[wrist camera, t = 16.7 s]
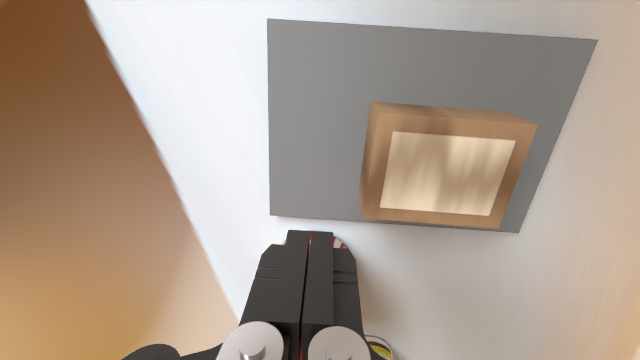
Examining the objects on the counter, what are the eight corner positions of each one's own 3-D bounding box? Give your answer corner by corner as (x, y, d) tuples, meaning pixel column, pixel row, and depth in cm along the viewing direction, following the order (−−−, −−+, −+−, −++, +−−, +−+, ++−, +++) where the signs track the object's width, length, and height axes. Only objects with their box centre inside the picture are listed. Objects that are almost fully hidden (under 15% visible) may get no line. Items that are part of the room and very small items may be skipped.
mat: (270, 19, 19) (267, 18, 18) (585, 40, 19) (598, 39, 18) (272, 208, 25) (269, 215, 24) (511, 226, 25) (518, 232, 24)
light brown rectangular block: (378, 113, 16) (540, 125, 16) (370, 101, 20) (505, 111, 20) (362, 219, 19) (499, 230, 19) (358, 193, 23) (475, 202, 23)
